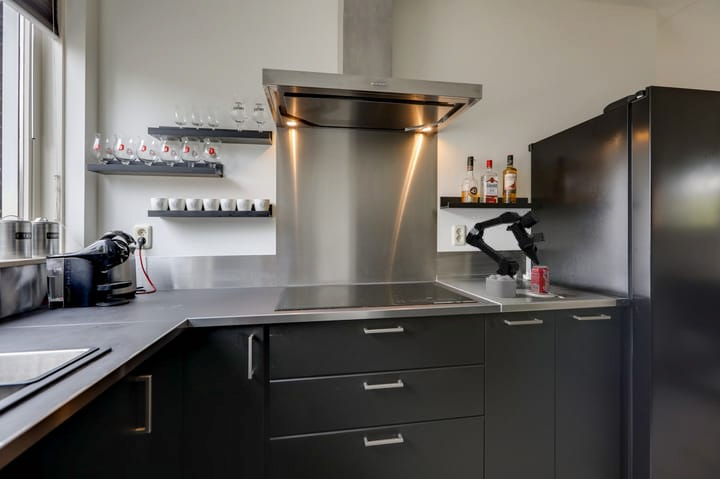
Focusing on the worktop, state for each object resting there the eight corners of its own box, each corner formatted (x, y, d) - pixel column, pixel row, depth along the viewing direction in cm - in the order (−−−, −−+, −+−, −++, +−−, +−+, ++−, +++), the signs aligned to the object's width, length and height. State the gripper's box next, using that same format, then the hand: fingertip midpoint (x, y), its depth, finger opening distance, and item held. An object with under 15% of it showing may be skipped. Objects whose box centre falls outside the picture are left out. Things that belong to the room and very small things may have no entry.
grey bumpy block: (497, 298, 131) (498, 277, 131) (479, 292, 144) (480, 273, 144) (519, 297, 133) (519, 277, 133) (500, 292, 146) (500, 273, 146)
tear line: (547, 293, 143) (547, 292, 143) (549, 293, 143) (549, 292, 143) (562, 298, 131) (562, 297, 131) (564, 298, 131) (564, 297, 131)
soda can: (549, 293, 139) (549, 266, 139) (549, 295, 133) (549, 267, 133) (531, 291, 143) (531, 265, 143) (530, 294, 137) (530, 266, 137)
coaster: (524, 295, 137) (524, 294, 137) (528, 292, 146) (528, 290, 146) (554, 298, 130) (554, 297, 130) (555, 294, 139) (556, 293, 139)
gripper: (535, 220, 141) (554, 251, 134) (539, 231, 155) (557, 258, 148) (510, 232, 145) (527, 262, 138) (517, 241, 160) (533, 268, 153)
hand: (537, 262), depth 144 cm, fingers open, 9 cm apart
